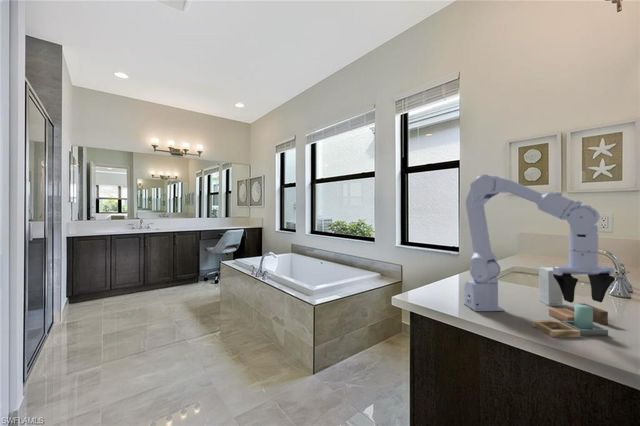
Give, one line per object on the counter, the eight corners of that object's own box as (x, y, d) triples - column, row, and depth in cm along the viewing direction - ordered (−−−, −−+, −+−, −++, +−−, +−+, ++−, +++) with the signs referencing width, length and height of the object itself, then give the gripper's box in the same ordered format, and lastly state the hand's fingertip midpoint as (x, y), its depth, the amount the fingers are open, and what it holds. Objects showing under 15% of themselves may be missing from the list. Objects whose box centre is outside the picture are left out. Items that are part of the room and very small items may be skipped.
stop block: (600, 324, 79) (600, 312, 79) (578, 314, 86) (578, 303, 86) (607, 324, 79) (607, 311, 79) (584, 314, 86) (584, 303, 86)
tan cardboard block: (567, 325, 79) (567, 317, 79) (548, 316, 86) (548, 308, 86) (586, 326, 79) (586, 317, 79) (565, 316, 86) (565, 308, 86)
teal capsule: (582, 331, 73) (582, 309, 73) (570, 325, 77) (570, 304, 77) (596, 331, 73) (596, 309, 73) (584, 325, 77) (584, 304, 77)
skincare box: (563, 306, 93) (563, 271, 93) (548, 306, 94) (548, 270, 94) (552, 300, 99) (551, 267, 99) (538, 300, 100) (538, 266, 100)
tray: (580, 336, 72) (580, 330, 72) (560, 326, 78) (560, 321, 78) (608, 335, 72) (608, 330, 72) (586, 326, 78) (586, 320, 78)
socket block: (552, 337, 72) (552, 331, 72) (532, 325, 79) (532, 320, 79) (580, 337, 72) (580, 331, 72) (557, 325, 79) (557, 320, 79)
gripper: (568, 253, 71) (568, 306, 71) (626, 252, 71) (626, 306, 71) (546, 249, 78) (546, 297, 78) (599, 248, 78) (599, 297, 78)
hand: (582, 301), depth 75 cm, fingers open, 7 cm apart
